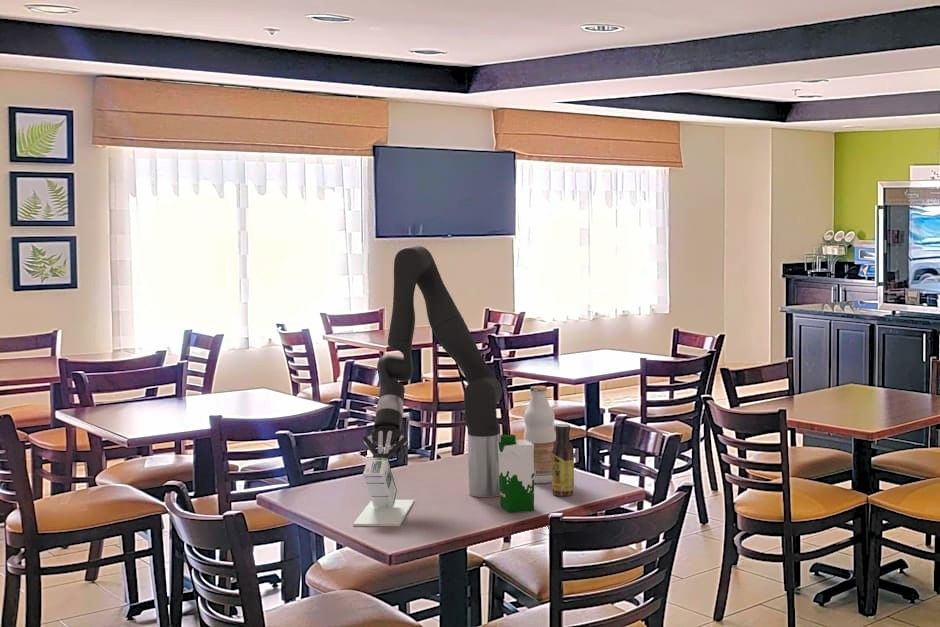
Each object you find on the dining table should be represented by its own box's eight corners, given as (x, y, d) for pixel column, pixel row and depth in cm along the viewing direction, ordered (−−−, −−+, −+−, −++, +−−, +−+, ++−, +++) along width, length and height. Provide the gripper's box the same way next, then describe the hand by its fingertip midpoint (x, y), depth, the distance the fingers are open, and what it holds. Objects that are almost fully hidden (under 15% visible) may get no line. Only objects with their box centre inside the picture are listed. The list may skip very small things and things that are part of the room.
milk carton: (496, 506, 285) (494, 433, 284) (527, 503, 288) (526, 430, 286) (506, 514, 277) (504, 439, 275) (539, 511, 280) (537, 436, 278)
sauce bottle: (549, 492, 299) (547, 423, 297) (570, 491, 300) (569, 421, 298) (555, 498, 292) (554, 427, 291) (577, 496, 294) (576, 426, 292)
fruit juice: (518, 480, 314) (516, 387, 312) (539, 474, 320) (537, 383, 318) (541, 485, 307) (539, 390, 305) (563, 479, 314) (561, 386, 311)
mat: (414, 501, 292) (414, 499, 292) (399, 526, 269) (399, 524, 269) (371, 501, 294) (371, 499, 294) (353, 526, 270) (353, 523, 270)
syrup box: (394, 508, 284) (384, 474, 274) (372, 507, 285) (362, 474, 275) (397, 491, 288) (388, 457, 278) (376, 490, 289) (366, 457, 279)
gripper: (363, 407, 293) (355, 460, 282) (410, 407, 292) (404, 460, 281) (368, 422, 299) (360, 475, 288) (414, 422, 298) (408, 475, 286)
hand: (382, 467), depth 284 cm, fingers closed
